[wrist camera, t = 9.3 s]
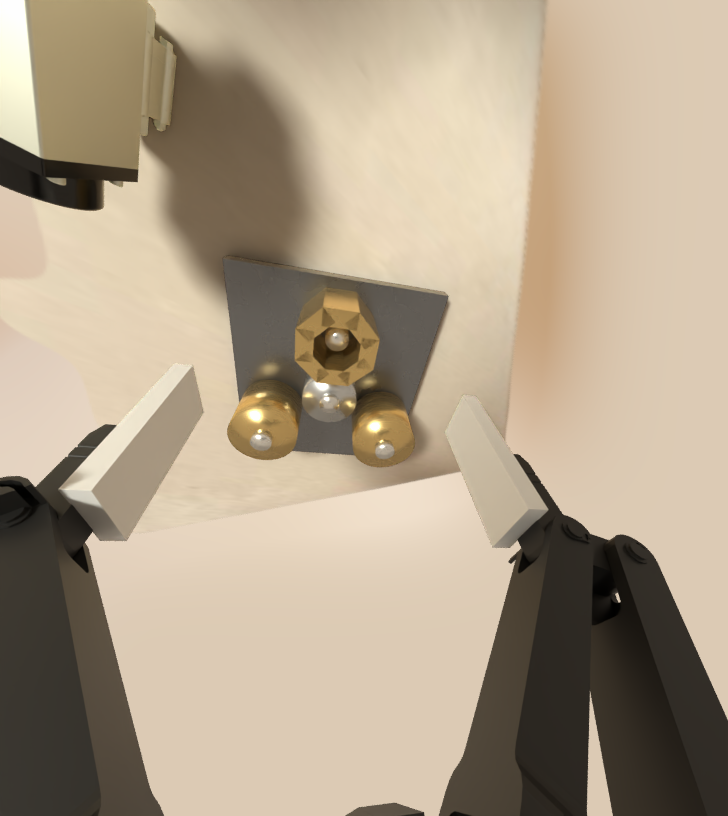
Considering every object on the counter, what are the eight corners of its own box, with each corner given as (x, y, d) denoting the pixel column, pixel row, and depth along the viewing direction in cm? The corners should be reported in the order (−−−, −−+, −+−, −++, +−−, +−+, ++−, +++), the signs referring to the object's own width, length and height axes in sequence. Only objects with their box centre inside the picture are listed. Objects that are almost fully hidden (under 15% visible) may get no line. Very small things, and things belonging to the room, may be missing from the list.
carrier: (227, 255, 22) (189, 276, 16) (444, 291, 25) (474, 320, 19) (247, 440, 34) (228, 488, 28) (392, 450, 36) (401, 497, 31)
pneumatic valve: (205, -49, 14) (-85, -564, 4) (175, 207, 20) (23, 220, 10) (68, -163, 12) (-932, -1463, 3) (80, 156, 18) (-209, 117, 9)
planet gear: (304, 283, 22) (296, 302, 18) (377, 295, 23) (385, 316, 19) (301, 351, 26) (294, 380, 22) (365, 359, 27) (369, 388, 23)
